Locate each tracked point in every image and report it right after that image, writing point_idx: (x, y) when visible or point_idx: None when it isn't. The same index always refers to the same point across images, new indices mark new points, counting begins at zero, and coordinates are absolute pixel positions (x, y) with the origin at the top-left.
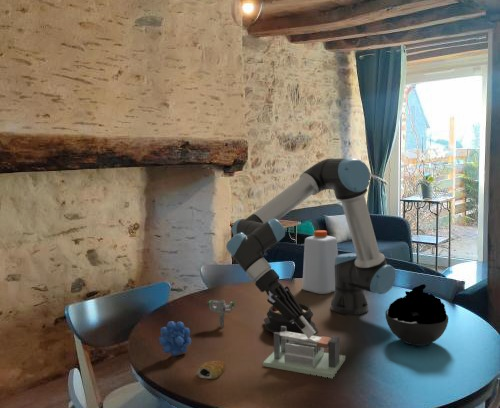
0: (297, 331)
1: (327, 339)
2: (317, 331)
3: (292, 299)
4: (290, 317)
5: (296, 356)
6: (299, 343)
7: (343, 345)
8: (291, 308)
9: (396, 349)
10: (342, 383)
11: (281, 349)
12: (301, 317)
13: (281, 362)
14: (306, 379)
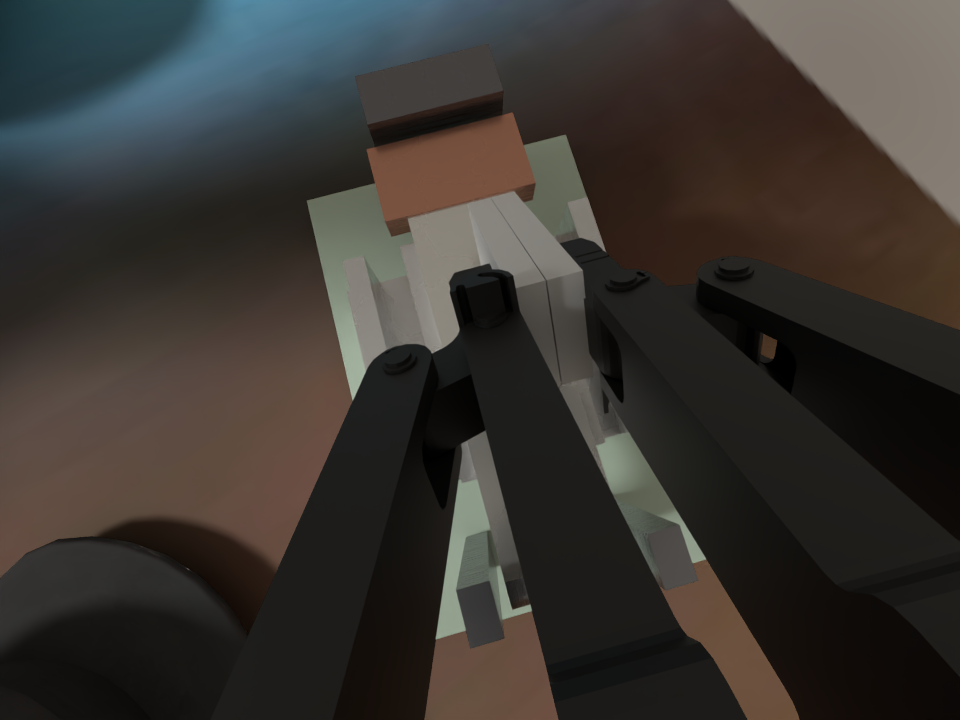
0: (121, 690)
1: (425, 156)
2: (41, 550)
3: (378, 609)
4: (761, 335)
5: None
6: None
7: (127, 321)
8: (732, 358)
9: (32, 63)
10: (575, 90)
11: (496, 568)
12: (568, 266)
13: (632, 454)
14: (659, 246)
